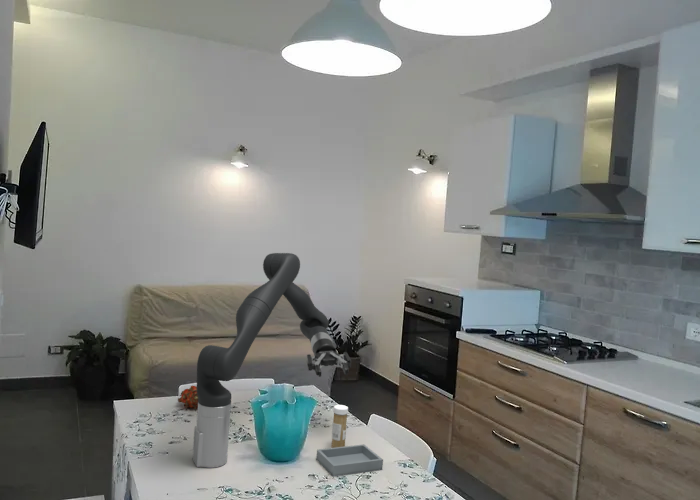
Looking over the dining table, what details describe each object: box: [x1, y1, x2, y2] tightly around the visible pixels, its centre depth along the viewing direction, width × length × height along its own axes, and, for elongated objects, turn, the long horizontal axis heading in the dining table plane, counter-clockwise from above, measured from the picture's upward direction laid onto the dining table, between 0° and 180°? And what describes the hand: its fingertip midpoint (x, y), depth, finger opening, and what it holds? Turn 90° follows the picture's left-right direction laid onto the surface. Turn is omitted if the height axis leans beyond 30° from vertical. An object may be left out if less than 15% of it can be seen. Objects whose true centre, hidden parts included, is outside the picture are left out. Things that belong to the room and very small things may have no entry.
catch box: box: [315, 444, 384, 477], centre depth 172 cm, size 16×12×3 cm
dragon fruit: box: [177, 385, 198, 410], centre depth 212 cm, size 8×8×12 cm
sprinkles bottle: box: [330, 404, 349, 448], centre depth 184 cm, size 5×5×14 cm
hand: (333, 373), depth 186 cm, fingers open, 8 cm apart
